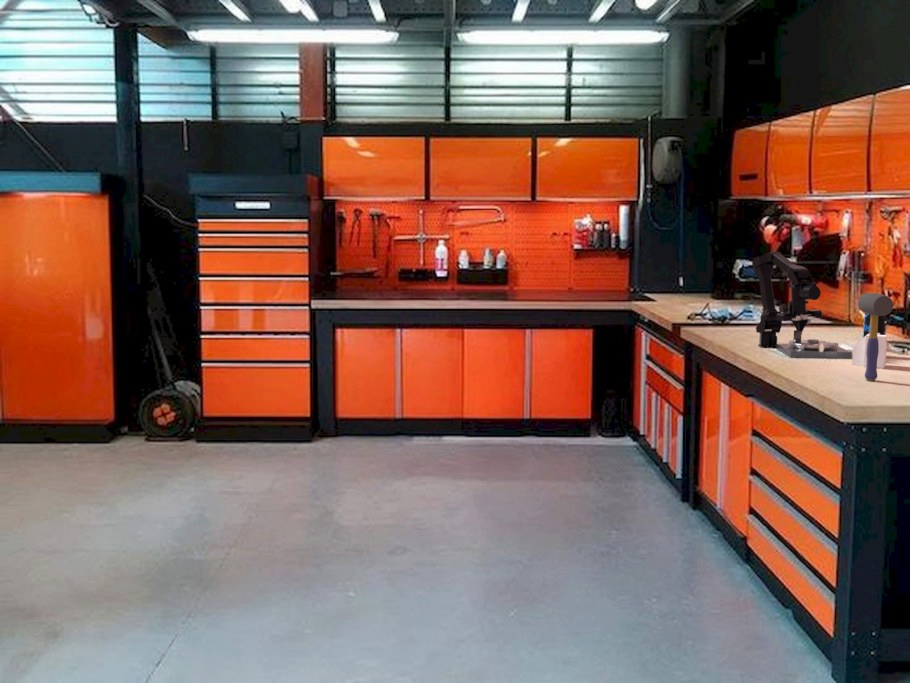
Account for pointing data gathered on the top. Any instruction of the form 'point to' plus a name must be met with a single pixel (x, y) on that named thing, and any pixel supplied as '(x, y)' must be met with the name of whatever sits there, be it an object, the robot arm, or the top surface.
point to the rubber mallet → (874, 327)
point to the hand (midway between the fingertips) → (799, 336)
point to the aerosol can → (880, 324)
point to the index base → (813, 352)
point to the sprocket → (810, 343)
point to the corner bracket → (861, 349)
